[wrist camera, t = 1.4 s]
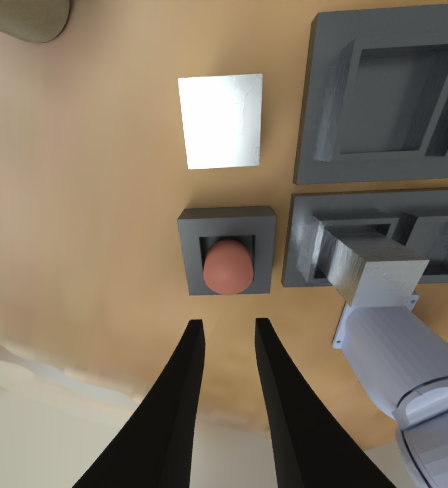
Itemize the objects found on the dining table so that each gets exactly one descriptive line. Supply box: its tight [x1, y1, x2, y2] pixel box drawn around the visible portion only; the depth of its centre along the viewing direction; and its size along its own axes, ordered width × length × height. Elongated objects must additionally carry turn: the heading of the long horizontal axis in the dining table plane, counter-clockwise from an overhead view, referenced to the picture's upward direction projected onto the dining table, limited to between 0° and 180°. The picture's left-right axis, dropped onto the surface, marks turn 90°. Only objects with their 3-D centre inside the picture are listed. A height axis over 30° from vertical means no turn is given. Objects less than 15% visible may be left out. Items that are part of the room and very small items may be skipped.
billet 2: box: [317, 226, 430, 308], centre depth 16 cm, size 4×4×6 cm
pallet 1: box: [293, 4, 448, 185], centre depth 13 cm, size 10×18×2 cm, turn 93°
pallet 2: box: [281, 188, 448, 287], centre depth 18 cm, size 10×18×2 cm, turn 92°
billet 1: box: [178, 73, 263, 169], centre depth 12 cm, size 4×4×6 cm
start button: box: [203, 239, 254, 295], centre depth 16 cm, size 4×4×2 cm
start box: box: [177, 206, 276, 295], centre depth 18 cm, size 8×8×3 cm
